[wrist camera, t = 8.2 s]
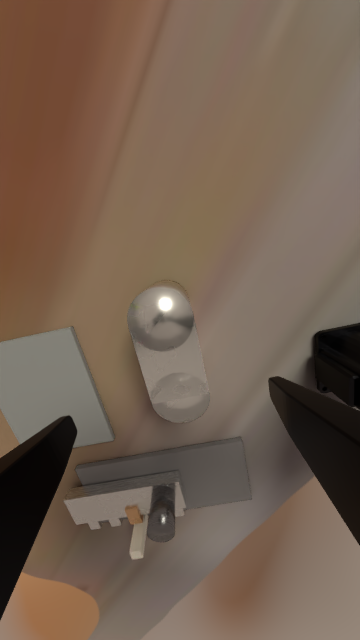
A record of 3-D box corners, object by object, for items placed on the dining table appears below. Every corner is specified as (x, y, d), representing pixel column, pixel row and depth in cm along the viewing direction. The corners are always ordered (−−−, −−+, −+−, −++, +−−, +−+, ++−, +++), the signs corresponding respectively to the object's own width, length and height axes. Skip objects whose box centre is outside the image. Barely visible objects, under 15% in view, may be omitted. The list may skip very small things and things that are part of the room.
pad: (72, 326, 18) (69, 328, 18) (114, 436, 22) (113, 440, 21) (-27, 347, 19) (-33, 350, 18) (30, 452, 22) (26, 456, 22)
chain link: (184, 275, 17) (186, 280, 11) (204, 372, 19) (214, 417, 14) (139, 285, 17) (118, 295, 11) (164, 379, 20) (158, 427, 14)
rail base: (240, 436, 22) (254, 474, 18) (250, 496, 24) (264, 540, 20) (77, 465, 23) (56, 506, 19) (102, 519, 25) (88, 565, 21)
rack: (178, 470, 22) (178, 519, 18) (187, 502, 23) (189, 554, 19) (69, 488, 23) (44, 539, 19) (84, 518, 24) (64, 572, 20)
